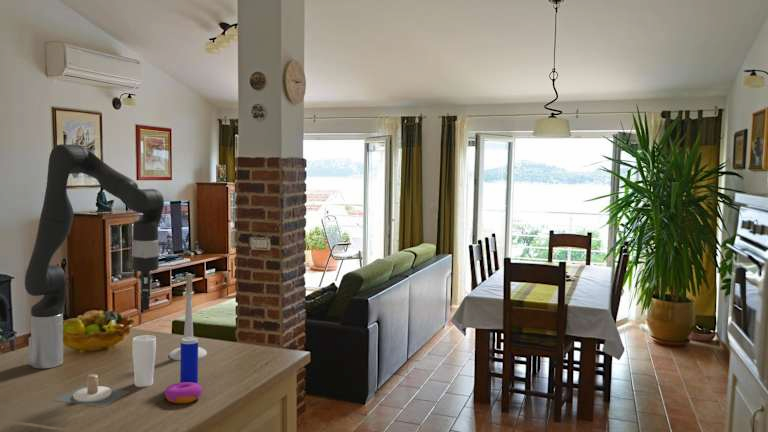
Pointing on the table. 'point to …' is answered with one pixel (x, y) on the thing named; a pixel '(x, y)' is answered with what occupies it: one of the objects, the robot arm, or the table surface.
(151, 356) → the drinking glass
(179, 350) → the candlestick
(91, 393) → the lid
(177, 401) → the donut
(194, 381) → the beverage can
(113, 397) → the mat
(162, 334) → the table surface
